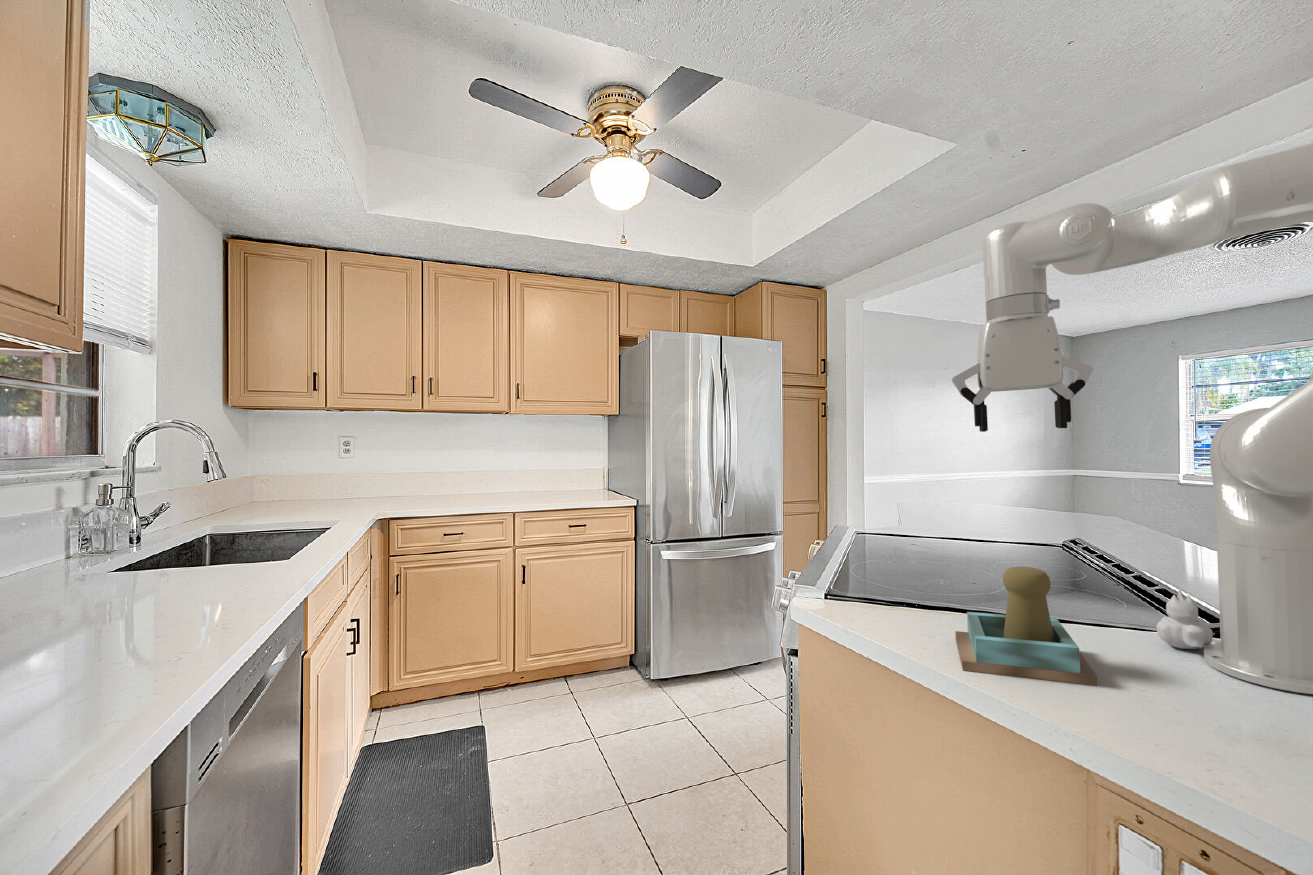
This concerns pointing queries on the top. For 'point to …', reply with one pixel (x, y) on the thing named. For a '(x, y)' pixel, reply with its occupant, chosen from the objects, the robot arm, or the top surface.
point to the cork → (1027, 605)
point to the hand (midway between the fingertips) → (1021, 429)
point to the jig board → (1021, 652)
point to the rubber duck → (1183, 624)
